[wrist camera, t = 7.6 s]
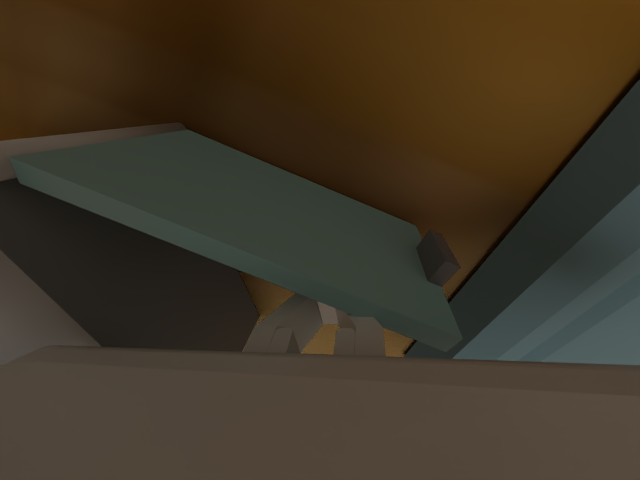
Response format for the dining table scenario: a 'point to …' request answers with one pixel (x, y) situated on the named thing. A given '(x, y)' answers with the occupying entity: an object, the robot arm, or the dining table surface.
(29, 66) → the dining table surface
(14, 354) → the housing
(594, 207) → the book
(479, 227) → the dining table surface
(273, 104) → the dining table surface
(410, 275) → the side door
